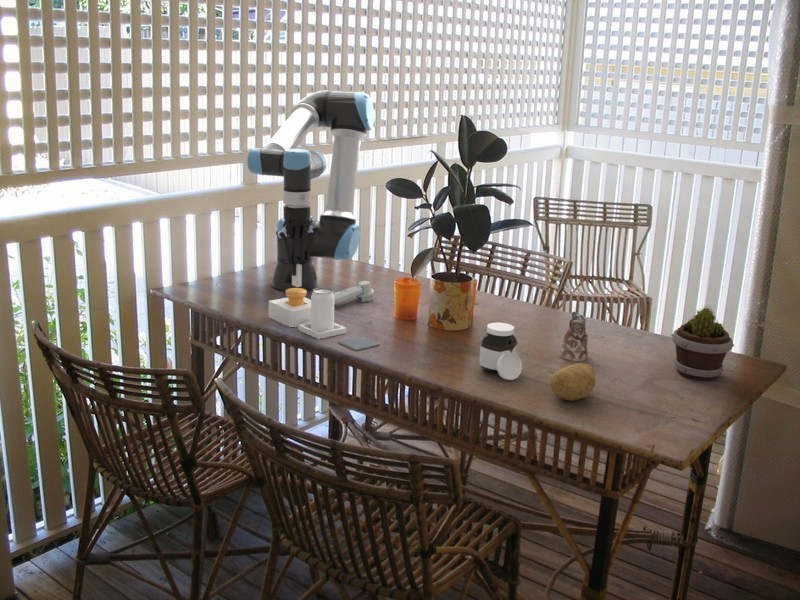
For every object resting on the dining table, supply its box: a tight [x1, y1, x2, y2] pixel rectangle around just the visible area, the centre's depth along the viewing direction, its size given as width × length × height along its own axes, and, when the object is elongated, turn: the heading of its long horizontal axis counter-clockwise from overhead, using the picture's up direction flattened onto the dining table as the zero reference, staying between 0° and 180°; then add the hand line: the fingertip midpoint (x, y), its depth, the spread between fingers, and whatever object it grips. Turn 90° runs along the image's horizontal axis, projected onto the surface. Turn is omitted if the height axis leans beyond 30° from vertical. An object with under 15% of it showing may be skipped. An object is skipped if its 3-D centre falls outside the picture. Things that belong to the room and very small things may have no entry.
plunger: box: [285, 288, 308, 306], centre depth 255 cm, size 6×6×8 cm
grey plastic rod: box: [333, 280, 375, 307], centre depth 271 cm, size 5×7×25 cm
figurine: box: [559, 311, 589, 362], centre depth 235 cm, size 7×7×12 cm
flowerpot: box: [670, 304, 735, 381], centre depth 225 cm, size 14×15×20 cm
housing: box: [268, 296, 347, 340], centre depth 252 cm, size 11×24×5 cm, turn 41°
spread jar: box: [479, 322, 523, 381], centre depth 221 cm, size 12×11×12 cm
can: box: [310, 287, 335, 333], centre depth 246 cm, size 6×6×12 cm
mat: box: [337, 335, 380, 352], centre depth 239 cm, size 8×8×1 cm
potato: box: [550, 362, 596, 402], centre depth 208 cm, size 10×14×8 cm
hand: (296, 285), depth 254 cm, fingers closed
